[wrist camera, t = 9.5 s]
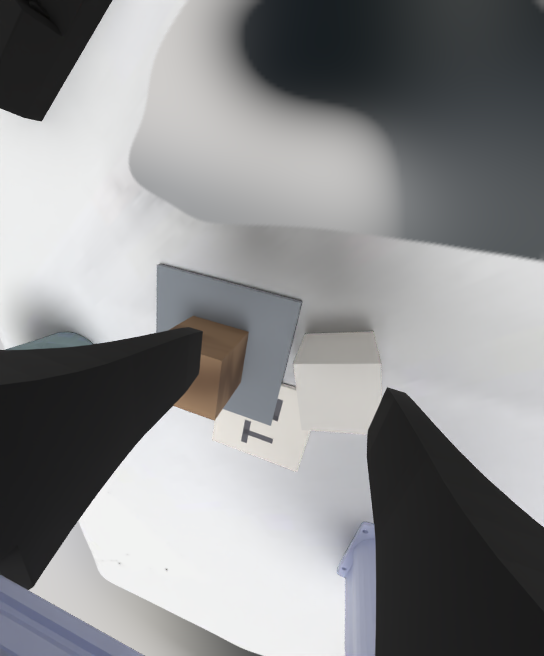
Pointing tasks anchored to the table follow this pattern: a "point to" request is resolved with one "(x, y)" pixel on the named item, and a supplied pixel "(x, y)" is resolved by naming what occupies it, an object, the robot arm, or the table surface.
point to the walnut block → (215, 367)
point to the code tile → (267, 432)
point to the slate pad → (242, 313)
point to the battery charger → (41, 49)
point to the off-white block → (338, 381)
